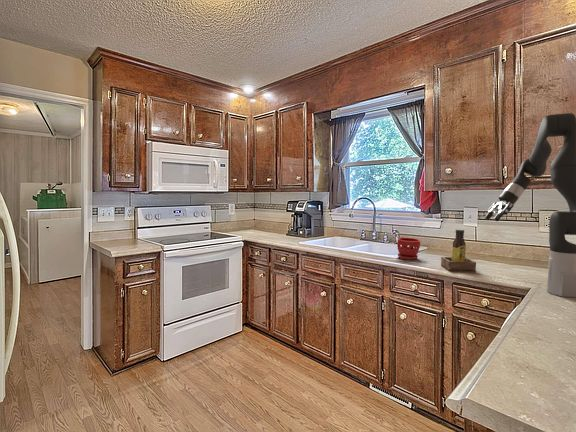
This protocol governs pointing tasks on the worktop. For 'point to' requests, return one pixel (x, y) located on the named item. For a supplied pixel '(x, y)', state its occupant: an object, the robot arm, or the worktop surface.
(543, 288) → the worktop surface
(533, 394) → the worktop surface
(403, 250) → the plant pot
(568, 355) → the worktop surface
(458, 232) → the sauce bottle
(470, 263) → the brown wooden tray
